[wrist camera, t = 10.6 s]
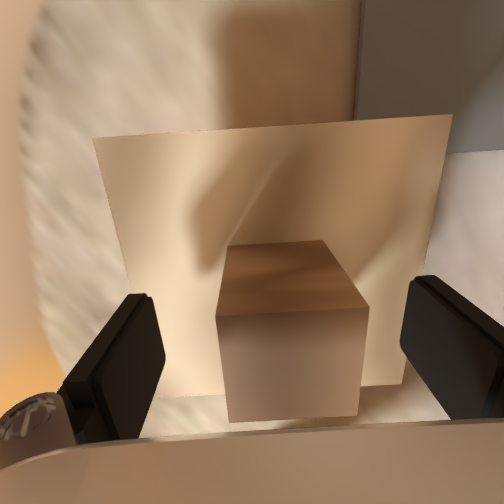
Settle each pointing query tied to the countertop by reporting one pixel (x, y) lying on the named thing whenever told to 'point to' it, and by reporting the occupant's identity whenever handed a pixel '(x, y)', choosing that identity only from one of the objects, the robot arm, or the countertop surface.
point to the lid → (278, 254)
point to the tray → (435, 66)
